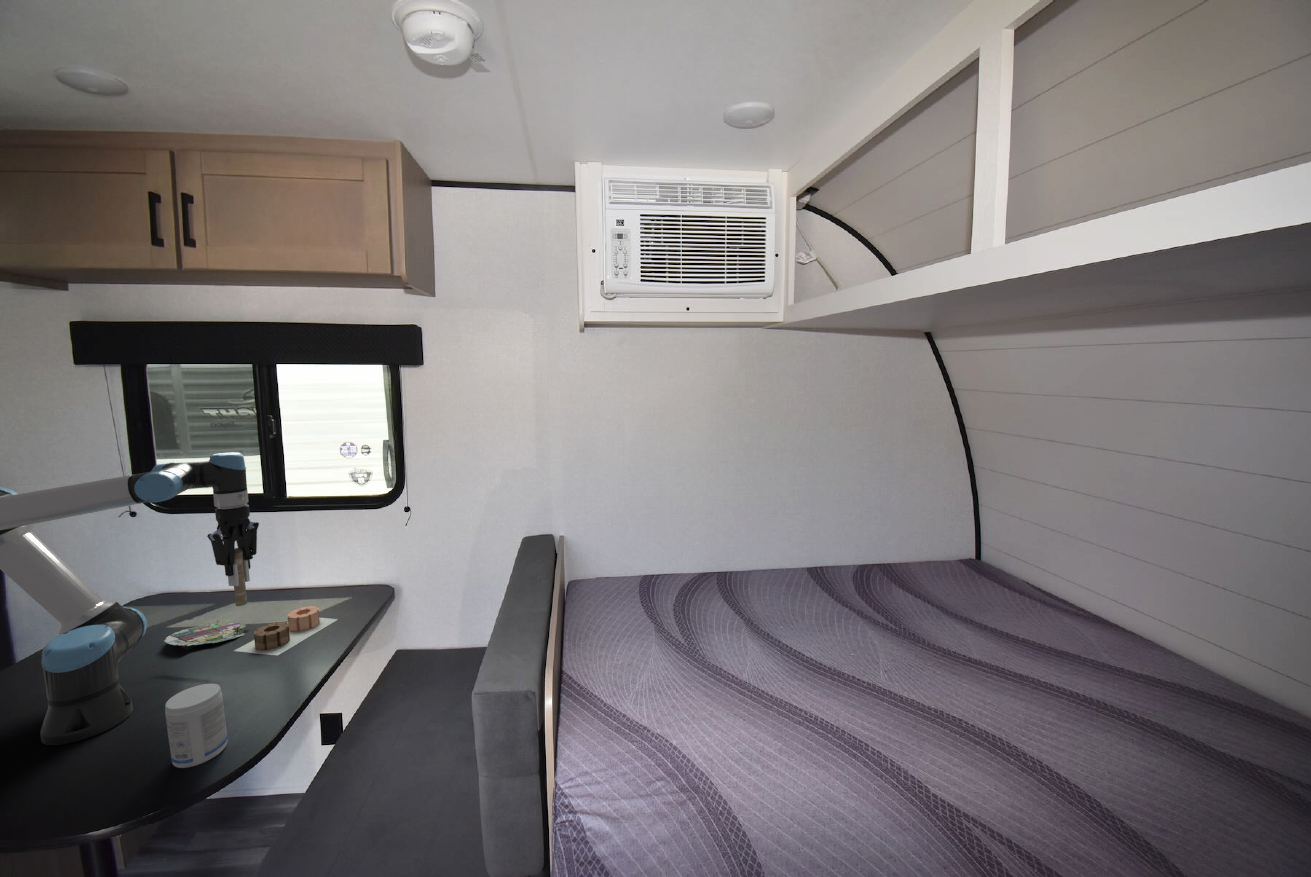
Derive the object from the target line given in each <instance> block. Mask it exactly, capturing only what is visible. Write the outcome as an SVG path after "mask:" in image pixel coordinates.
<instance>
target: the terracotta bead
mask: <svg viewBox="0 0 1311 877" xmlns="http://www.w3.org/2000/svg"><path fill="white" fill-rule="evenodd" d="M319 618H320V608H319V607H318V606H314V605H310V606H302V607H299V608H295V609H294V610H292V611H289V612H288V613H287V622H288V623H289V631H291V632H298V631H300V632H301V631H305V630H309V628H314V627H316V626H317V625H319V624H320V619H319Z"/></svg>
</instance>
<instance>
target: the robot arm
mask: <svg viewBox="0 0 1311 877" xmlns="http://www.w3.org/2000/svg"><path fill="white" fill-rule="evenodd" d="M245 462H246V461H245V458H244V455H243V454H242V453H240V452H218V453H214V454H211V455H210V457H209V459H208V460H206V461H192V462H188V461H187V462H168V463H159V464H156V465H154V466H153V468H152V469H151V471H147V472H141V473H136V474H130V475H125V476H123V475H122V476H118V477H113V478H112V477H111V478H108V479H107V478H105V479H100V480H94V481H89V482H84V483H83V482H82V483H81V482H80V483H76V484H69V485H63V486H59V487H53V488H48V489H47V488H46V489H42V490H41V489H40V490H34V491H29V492H23V493H22V492H21V493H18V492H16V491H15V490H12V489H9V488H7V487H1V486H0V570H1V571H2V572H3V573H4V574H5V575H6V576H7V577H8V578H9V579H11V580H12V581H13V582H14V583H15V584H16V585H17V586H19V588H20V589H22V590H23V591H24V592H25V593H26V594H27V595H28V596H29V597H30V598H32V599H33V600H34V601H35V602H36V603H37V604H38V605H39V606H41V607H42V608H43V609H44V610H45V611H46V612H47V613H48V614H50V616H52V617H53V618H54V619H55V620H56V621H57V622H58V623H59V624H60V625H61V626H60V630H59V633H58V634H59V635H57V636H56V637H54V638H53V639H51V640H49V642H47V643H46V644H45V646H44V647H43V649H42V652H41V662H40V663H41V667H42V670H43V671H42V672H43V679H44V685H45V690H46V698H47V705H48V706H47V707H48V708H47V710H46V712H45V717H44V719H43V722H42V725H41V728H40V732H39V734H40V741H41V744H43V745H46V746H61V745H62V746H63V745H68V744H73V743H76V742H80V741H83V740H86V739H89V738H92V737H94V736H97V735H99V734H102V733H104V732H106V731H108V730H110V729H112V728H114V727H115V726H116V727H117V726H118V725H119V724H120V723H122V722H123V721H125V720H127V718H128V717H130V716H131V714H132V713H133V710H134V706H133V701H132V699H131V697H130V696H129V695H128V693H127V692H126V691H125V689H124V688H123V687H122V685H121V683H120V675H119V666H118V663H119V662H120V661H121V660H122V659H123V658H124V657H125V656H126V655H127V654H128V653H129V652H130V651H131V650H133V649H134V648H136V646H137V645H138V644H139V643H140V642H141V640H142V638H143V637H144V636H145V634H146V632H147V628H148V621H147V618H146V616H145V614H144V613H143V612H141V610H139V609H136V608H134V607H126V606H123V605H121V604H120V603H119V602H118V601H117V600H109V599H108V600H107V599H103V598H102V596H100V595H99V594H98V593H97V592H96V591H95V590H94V589H93V588H92V587H91V586H90V585H89V584H88V583H87V582H85V580H83V579H82V578H81V577H80V575H78V574H77V573H76V572H75V571H74V570H73V569H72V568H71V567H70V566H69V564H67V563H66V562H64V560H62V559H61V558H60V557H59V556H58V555H57V554H56V553H55V552H54V551H53V549H51V548H50V547H49V546H48V545H46V543H44V541H42V540H41V538H39V537H38V536H37V535H36V534H35V533H34V532H33V528H34V525H36V524H39V523H40V524H41V523H45V522H51V521H57V520H61V519H65V518H71V517H77V516H82V515H87V514H92V513H97V512H102V511H107V510H112V509H119V508H123V507H129V506H135V505H139V504H144V503H145V504H146V503H161V502H164V501H165V502H166V501H168V500H171V499H173V498H174V497H176V496H178V495H179V494H181V493H183V492H185V491H187V490H194V489H204V488H205V489H206V488H207V489H208V488H212V494H213V505H214V507H216V508H215V509H214V513H215V514H214V515H215V521H216V522H217V525H216V526H217V527H216V530H215V531H214V532H213V533H209V534H207V536H206V537H207V538H208V539H209V541H210V543H211V548H212V552H213V556H214V561H215V564H216V565H217V566H224V572H225V576H226V577H227V580H228V583H227V584H228V586H230V587H234V586H239V578H238V568H237V564H234V551H235V548H236V546H237V548H240V549H241V550H242V553H243V564H244V575H245V583H248V582H250V581H251V580H250V579H251V578H250V569H251V566H252V565H251V560H253V558H254V556H256V554H257V553H258V552H257V551H258V549H257V548H258V542H257V541H258V529H259V525H260V523H259V522H258V521H251V520H250V518H249V517H250V515H251V514H250V513H251V512H250V505H249V504H248V503H249V494H248V492H249V491H248V484H247V467H246V463H245Z"/></svg>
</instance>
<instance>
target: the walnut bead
mask: <svg viewBox="0 0 1311 877" xmlns="http://www.w3.org/2000/svg"><path fill="white" fill-rule="evenodd" d="M253 633H254V634H253V637H254V639H253V640H255V649H256V650H260V651H265V650H266V649H267V650H271V649H275V648H278V646H280V647H281V646H283V645H285V644H286V643H288V641H290V634H289V623H287V621H286V622H284V621H280V622H278V621H277V622H273V623H268V624H266V625H262V626H260V627H259V628H256V629H255V630H254V632H253Z"/></svg>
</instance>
